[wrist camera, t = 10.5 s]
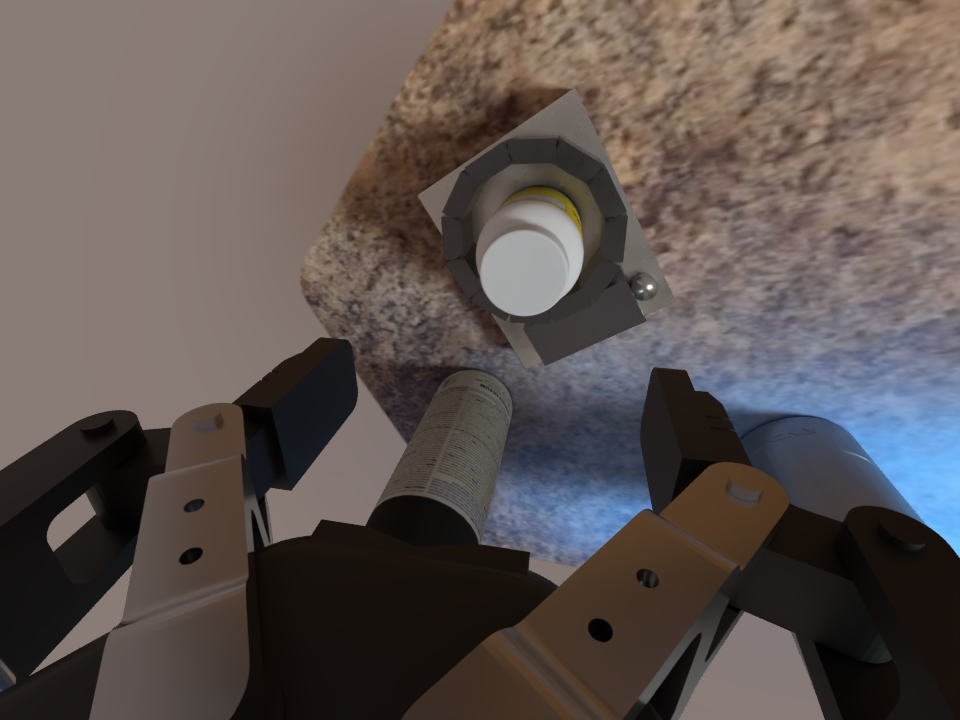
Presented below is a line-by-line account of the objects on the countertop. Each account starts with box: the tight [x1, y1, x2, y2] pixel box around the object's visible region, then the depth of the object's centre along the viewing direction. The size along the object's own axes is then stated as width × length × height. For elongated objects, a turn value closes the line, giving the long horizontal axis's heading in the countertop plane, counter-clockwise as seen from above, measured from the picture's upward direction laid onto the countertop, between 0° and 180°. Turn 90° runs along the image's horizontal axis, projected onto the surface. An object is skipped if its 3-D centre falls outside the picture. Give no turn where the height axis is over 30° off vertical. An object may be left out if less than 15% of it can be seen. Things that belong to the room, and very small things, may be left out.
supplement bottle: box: [476, 185, 584, 316], centre depth 25 cm, size 5×5×10 cm
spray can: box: [366, 370, 513, 547], centre depth 31 cm, size 7×7×20 cm
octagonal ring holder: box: [417, 88, 676, 369], centre depth 30 cm, size 14×11×6 cm
